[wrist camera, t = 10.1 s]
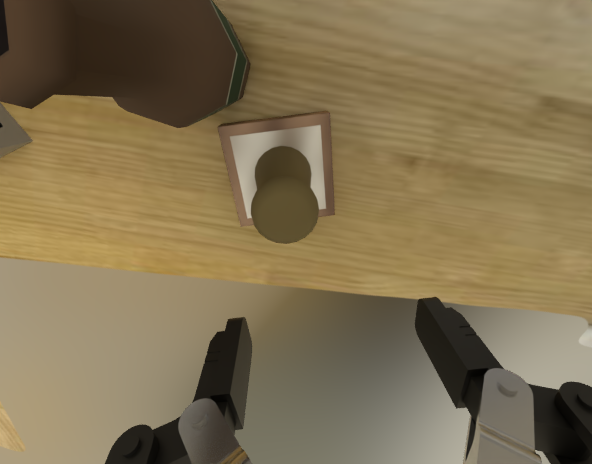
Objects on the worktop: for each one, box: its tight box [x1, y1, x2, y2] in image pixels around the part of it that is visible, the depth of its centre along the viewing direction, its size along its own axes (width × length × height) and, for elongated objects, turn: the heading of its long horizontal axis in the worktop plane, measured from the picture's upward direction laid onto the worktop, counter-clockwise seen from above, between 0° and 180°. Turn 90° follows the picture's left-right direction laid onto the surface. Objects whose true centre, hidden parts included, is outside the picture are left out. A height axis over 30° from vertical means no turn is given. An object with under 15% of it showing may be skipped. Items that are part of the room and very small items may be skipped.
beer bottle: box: [0, 0, 250, 128], centre depth 16 cm, size 8×8×24 cm
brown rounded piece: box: [251, 146, 319, 244], centre depth 25 cm, size 6×6×11 cm
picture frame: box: [218, 111, 335, 227], centre depth 30 cm, size 11×11×2 cm
